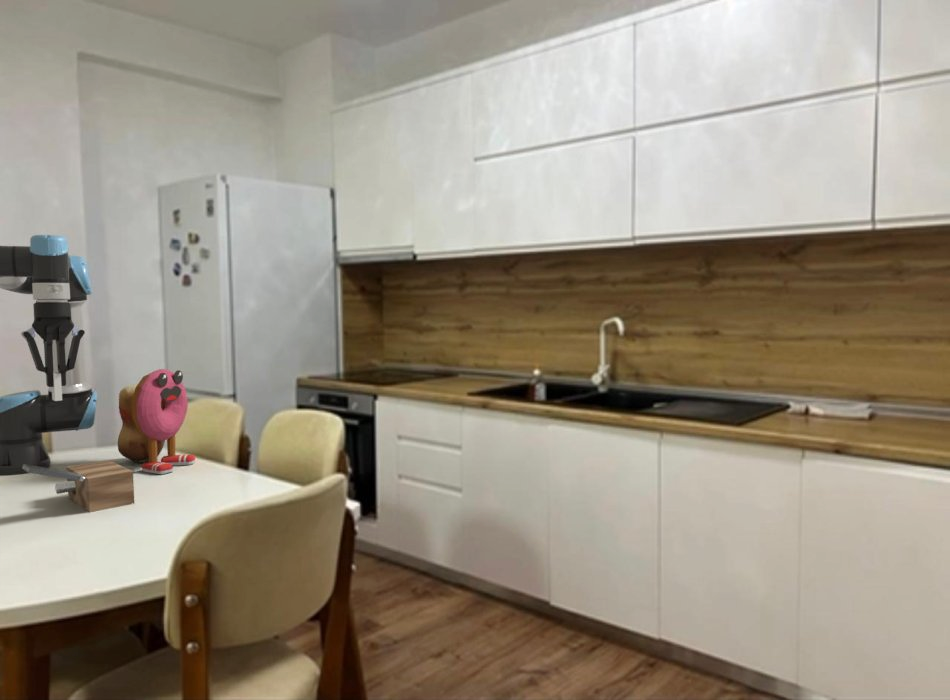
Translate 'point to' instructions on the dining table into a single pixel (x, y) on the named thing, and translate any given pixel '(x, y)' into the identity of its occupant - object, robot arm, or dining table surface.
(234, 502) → the dining table surface
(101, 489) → the block
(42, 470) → the silver flat rectangular plate
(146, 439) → the butternut squash
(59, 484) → the pin
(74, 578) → the dining table surface
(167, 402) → the toy
